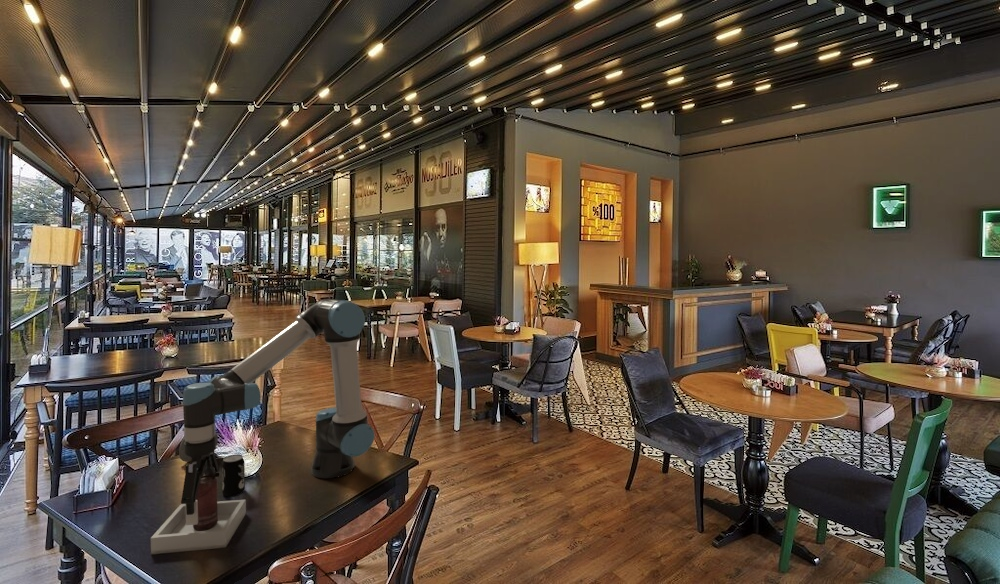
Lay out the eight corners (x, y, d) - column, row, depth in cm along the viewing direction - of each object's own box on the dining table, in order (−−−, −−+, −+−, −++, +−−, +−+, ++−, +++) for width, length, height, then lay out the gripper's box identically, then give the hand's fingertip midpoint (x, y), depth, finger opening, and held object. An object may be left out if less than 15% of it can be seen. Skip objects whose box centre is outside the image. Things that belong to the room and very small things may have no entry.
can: (187, 532, 138) (186, 484, 137) (201, 520, 145) (200, 474, 144) (209, 532, 138) (207, 484, 137) (222, 520, 145) (221, 474, 144)
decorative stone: (206, 449, 199) (205, 413, 198) (226, 453, 196) (225, 416, 195) (171, 464, 184) (170, 425, 183) (192, 468, 181) (191, 428, 180)
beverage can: (235, 498, 159) (234, 462, 159) (217, 496, 161) (217, 460, 160) (249, 489, 166) (248, 454, 165) (232, 487, 167) (231, 453, 166)
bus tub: (246, 513, 150) (245, 499, 150) (225, 547, 133) (225, 531, 132) (181, 518, 147) (180, 504, 146) (151, 554, 129) (150, 538, 129)
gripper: (202, 424, 149) (204, 491, 151) (164, 457, 125) (166, 537, 126) (229, 423, 151) (231, 489, 152) (196, 455, 126) (199, 534, 128)
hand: (202, 511), depth 139 cm, fingers open, 13 cm apart
